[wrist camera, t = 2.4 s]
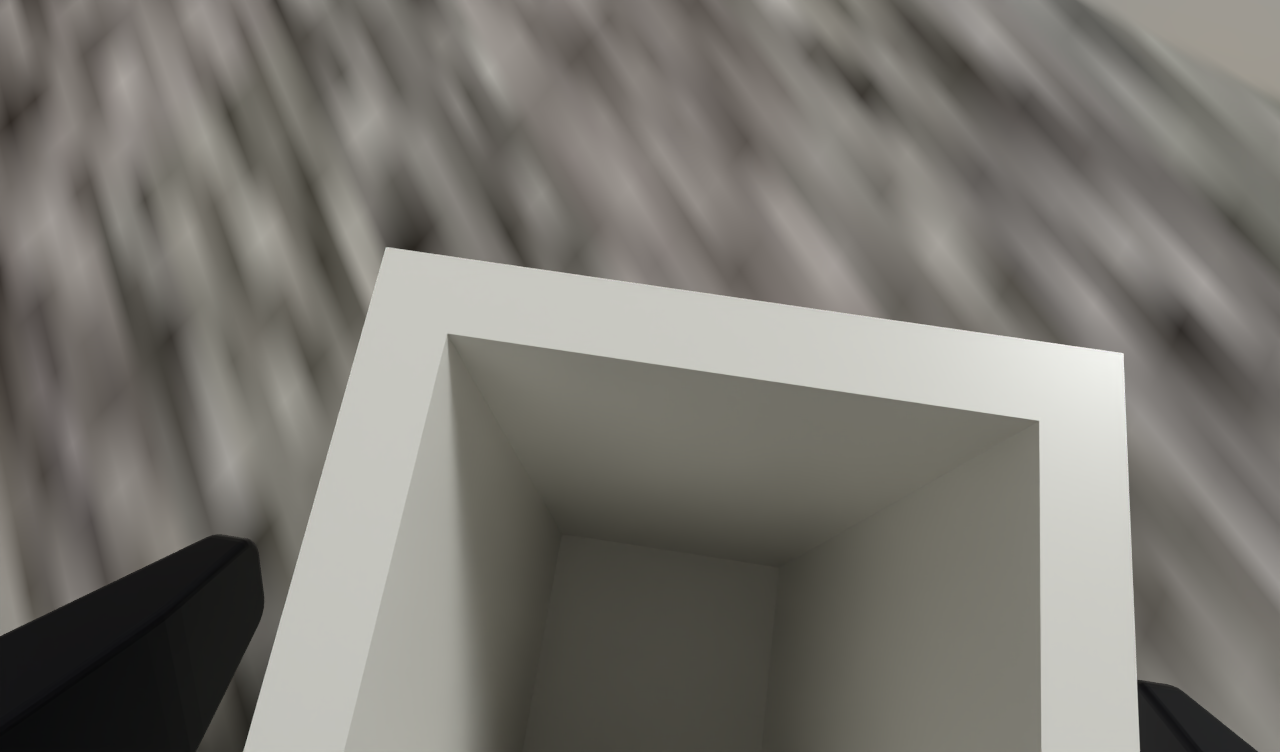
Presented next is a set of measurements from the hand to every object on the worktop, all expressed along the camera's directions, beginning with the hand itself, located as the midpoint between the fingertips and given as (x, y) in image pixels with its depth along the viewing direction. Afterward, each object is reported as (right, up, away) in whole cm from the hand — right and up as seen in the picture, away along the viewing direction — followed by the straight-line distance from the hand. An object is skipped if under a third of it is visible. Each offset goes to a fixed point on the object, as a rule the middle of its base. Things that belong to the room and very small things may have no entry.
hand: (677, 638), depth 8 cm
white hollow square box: (0, -3, +7) cm, 8 cm away
